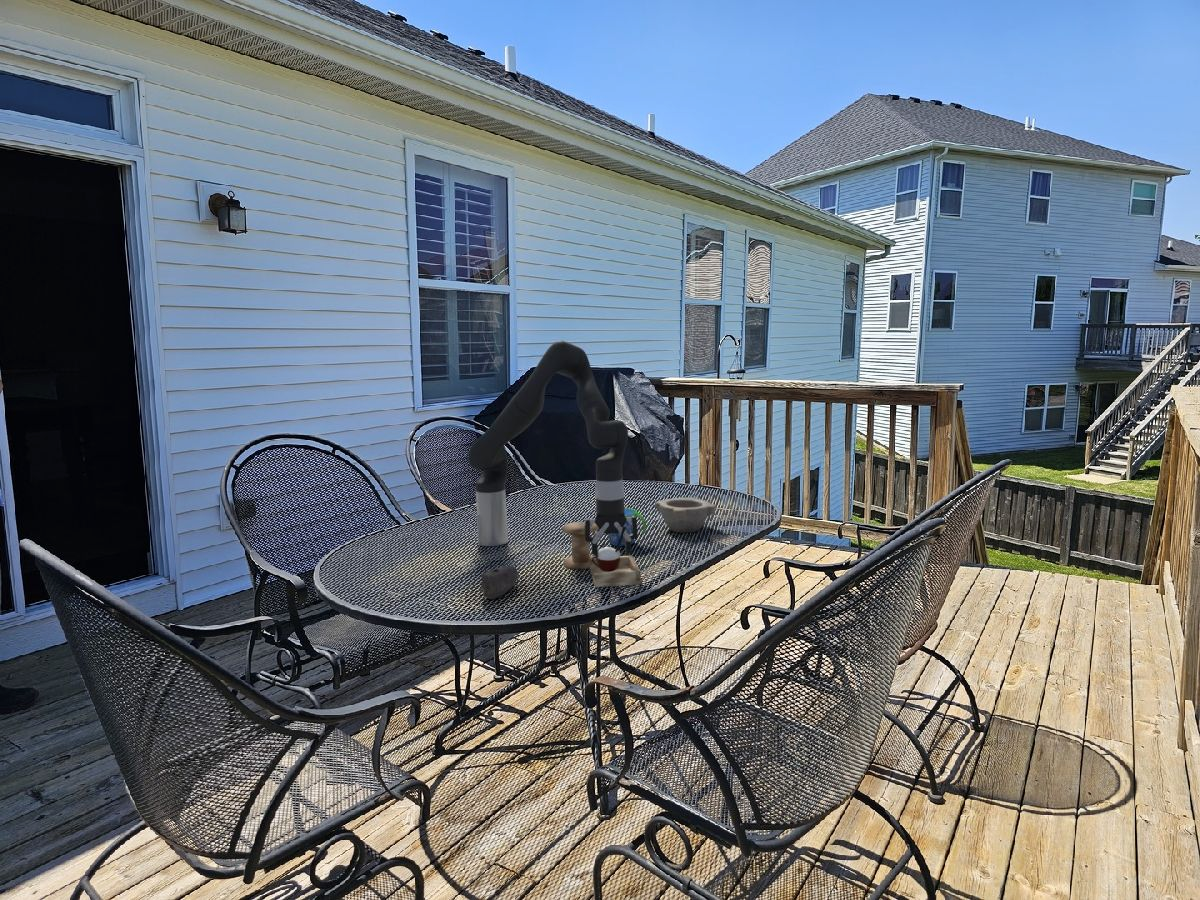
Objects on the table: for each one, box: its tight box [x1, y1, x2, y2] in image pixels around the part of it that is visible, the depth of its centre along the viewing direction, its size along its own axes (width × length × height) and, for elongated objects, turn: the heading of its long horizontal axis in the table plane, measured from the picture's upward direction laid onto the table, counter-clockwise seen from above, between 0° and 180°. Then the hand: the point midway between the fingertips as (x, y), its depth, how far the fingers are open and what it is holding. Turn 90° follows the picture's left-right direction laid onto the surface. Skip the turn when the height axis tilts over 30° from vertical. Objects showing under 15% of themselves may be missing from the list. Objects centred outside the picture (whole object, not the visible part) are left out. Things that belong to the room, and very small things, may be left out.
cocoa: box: [592, 527, 626, 572], centre depth 196 cm, size 10×6×12 cm, turn 51°
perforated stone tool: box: [480, 565, 519, 600], centre depth 187 cm, size 15×5×7 cm, turn 153°
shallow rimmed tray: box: [589, 555, 642, 588], centre depth 197 cm, size 12×15×3 cm
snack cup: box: [597, 507, 647, 547], centre depth 228 cm, size 16×10×10 cm
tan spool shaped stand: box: [561, 521, 597, 570], centre depth 209 cm, size 10×10×11 cm
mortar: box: [654, 496, 718, 533], centre depth 242 cm, size 17×17×9 cm
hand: (611, 555), depth 196 cm, fingers closed on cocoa, 8 cm apart
